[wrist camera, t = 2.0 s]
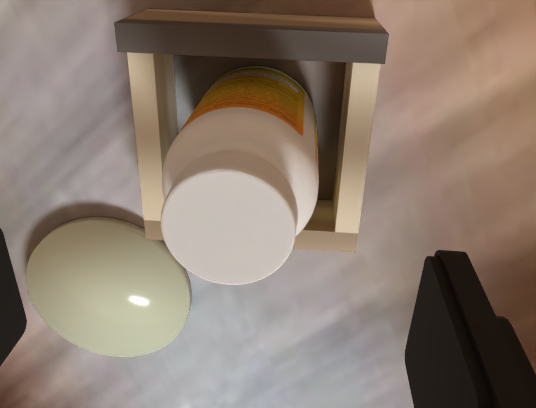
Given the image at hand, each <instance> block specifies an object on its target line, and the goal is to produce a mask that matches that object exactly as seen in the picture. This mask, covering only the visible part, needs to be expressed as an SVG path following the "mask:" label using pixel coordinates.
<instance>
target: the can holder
mask: <svg viewBox="0 0 536 408" xmlns="http://www.w3.org/2000/svg"><path fill="white" fill-rule="evenodd" d="M114 25H115V34H116V43H117V52H127V57H128V67H129V76H130V86H131V96H132V106H133V116H134V126H135V136H136V146H137V156H138V166H139V176H140V186H141V196H142V206H143V216H144V226H145V236H146V239H152V240H164V238H163V235H162V230H161V211H162V207H163V204H164V201H165V199H164V195H163V189H162V172H163V166H164V162H165V158H166V156H167V153H168V151H169V149H170V147H171V145H172V143H173V141H174V139H175V138H176V137H177V135H178V126H177V109H176V92H175V75H174V58H173V55H194V56H217V57H239V58H261V59H283V60H306V61H328V62H346V70H345V80H344V90H343V100H342V110H341V120H340V130H339V140H338V150H337V160H336V170H335V180H334V190H333V200H332V201H331V200H317V202H316V205H315V208H314V211H313V214H312V216H311V218H310V219H309V221H308V223H307V224H306V226H305V227H304V228H303V230H302V231H301V232H300V233H299V234H298V235H297V236H296V237H295V242H294V245H293V248H292V249H306V250H322V251H337V252H353V253H356V246H357V238H358V231H359V223H360V215H361V208H362V200H363V193H364V185H365V177H366V170H367V162H368V155H369V147H370V140H371V132H372V124H373V117H374V109H375V102H376V94H377V86H378V79H379V71H380V64H385V59H386V52H387V45H388V37H389V34H388V33H387V31H386V30H385V29H384V28H383V27H382V25H381V24H380V23H379V22H378V21H377V20H376V18H359V17H335V16H310V15H285V14H260V13H235V12H210V11H186V10H161V9H146V10H144V11H141V12H139V13H136V14H134V15H131V16H129V17H127V18H124V19H122V20H119V21H117V22H115V23H114Z"/></svg>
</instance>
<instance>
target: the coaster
mask: <svg viewBox="0 0 536 408" xmlns="http://www.w3.org/2000/svg"><path fill="white" fill-rule="evenodd" d="M26 285H27V291H28V294H29V297H30V300H31V302H32V304H33V306H34V308H35V309H36V311H37V312H38V314H39V315H40V317H41V318H42V319H43V320H44V322H45V323H46V324H47V325H48V326H49V327H50V328H51V329H52V330H54V331H55V332H56V333H57V334H59V335H60V336H61V337H63V338H64V339H66V340H67V341H69V342H71V343H73V344H74V345H76V346H78V347H81V348H83V349H85V350H88V351H91V352H94V353H97V354H102V355H106V356H114V357H134V356H140V355H145V354H149V353H152V352H155V351H157V350H159V349H161V348H163V347H164V346H166V345H168V344H169V343H170V342H171V341H172V340H174V339H175V338H176V336H177V335H178V334H179V333H180V331H181V330H182V328H183V326H184V324H185V321H186V319H187V316H188V313H189V310H190V305H191V298H192V291H191V284H190V280H189V277H188V274H187V272H186V270H185V268H184V267H183V266H182V265H181V264H180V263H179V262H178V261H177V260H176V259H175V258H174V256H173V255H172V254H171V252H170V251H169V249H168V247H167V246H166V244H165V243H164V242H163V241H162V240H152V239H146V236H145V229H143V228H141V227H139V226H137V225H135V224H132V223H129V222H126V221H123V220H118V219H114V218H106V217H87V218H79V219H76V220H72V221H69V222H66V223H64V224H62V225H60V226H58V227H57V228H55V229H53V230H52V231H51V232H50V233H49V234H47V235H46V237H45V238H44V239H43V240H42V241H41V242H40V243H39V244H38V246H37V247H36V248H35V249H34V251H33V253H32V254H31V256H30V258H29V261H28V264H27V269H26Z"/></svg>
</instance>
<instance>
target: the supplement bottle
mask: <svg viewBox="0 0 536 408" xmlns="http://www.w3.org/2000/svg"><path fill="white" fill-rule="evenodd" d="M318 187H319V172H318V143H317V121H316V115H315V111H314V107H313V105H312V102H311V100H310V98H309V96H308V95H307V93H306V92H305V90H304V89H303V88H302V87H301V86H300V85H299V84H298V83H297V82H296V81H295V80H294V79H292V78H291V77H290V76H288V75H286V74H285V73H283V72H281V71H278V70H276V69H273V68H269V67H263V66H248V67H243V68H239V69H236V70H233V71H231V72H228V73H227V74H225V75H223V76H222V77H220V78H219V79H218V80H217V81H216V82H215V83H214V84H213V85H212V86H211V87H210V88H209V89H208V90H207V92H206V93H205V95H204V96H203V98H202V99H201V101H200V102H199V104H198V105H197V107H196V109H195V110H194V111H193V113H192V114H191V116H190V117H189V119H188V120H187V122H186V123H185V125H184V126H183V128H182V129H181V131H180V132H179V134H178V135H177V137H176V138H175V139H174V141H173V143H172V145H171V147H170V149H169V151H168V153H167V156H166V158H165V162H164V166H163V172H162V189H163V195H164V199H165V201H164V204H163V207H162V211H161V230H162V235H163V238H164V241H165V243H166V246H167V247H168V249H169V251H170V252H171V254H172V255H173V256H174V258H175V259H176V260H177V261H178V262H179V263H180V264H181V265H182V266H183V267H184V268H186V269H187V270H189V271H190V272H191V273H193V274H195V275H196V276H198V277H201V278H203V279H205V280H208V281H211V282H215V283H219V284H228V285H241V284H247V283H252V282H255V281H258V280H261V279H263V278H265V277H267V276H269V275H270V274H272V273H273V272H275V271H276V270H277V269H278V268H280V267H281V265H282V264H283V263H284V262H285V261H286V259H287V258H288V256H289V255H290V253H291V251H292V248H293V245H294V242H295V237H296V236H297V235H298V234H299V233H300V232H301V231H302V230H303V228H304V227H305V226H306V224H307V223H308V221H309V219H310V218H311V216H312V214H313V211H314V208H315V205H316V202H317V196H318Z"/></svg>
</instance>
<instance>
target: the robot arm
mask: <svg viewBox="0 0 536 408" xmlns="http://www.w3.org/2000/svg"><path fill="white" fill-rule="evenodd" d="M26 323H27V320H26V315H25V311H24V307H23V304H22V300H21V297H20V293H19V289H18V286H17V282H16V278H15V275H14V271H13V267H12V264H11V260H10V257H9V253H8V249H7V246H6V242H5V238H4V235H3V232H2V230H1V229H0V366H1V365H2V363H3V362H4V360H5V359H6V358H7V356H8V355H9V353H10V352H11V351H12V349H13V348H14V346H15V345H16V344H17V342H18V341H19V339H20V338H21V337H22V335H23V333H24V331H25V329H26ZM405 364H406V370H407V375H408V380H409V384H410V389H411V394H412V399H413V404H414V408H536V374H535V372H534V370H533V368H532V366H531V364H530V362H529V360H528V358H527V356H526V354H525V352H524V350H523V348H522V346H521V344H520V342H519V340H518V338H517V335H516V333H515V331H514V329H513V327H512V325H511V324H510V322H509V321H508V319H506V318H505V317H498V316H496V315H495V313H494V311H493V309H492V307H491V305H490V302H489V300H488V298H487V296H486V294H485V292H484V289H483V287H482V285H481V283H480V281H479V279H478V276H477V274H476V272H475V270H474V268H473V266H472V264H471V261H470V259H469V257H468V255H467V254H466V253H465V252H459V251H444V250H438V251H436V253H435V255H434V257H433V256H427V257H426V259H425V262H424V267H423V271H422V276H421V281H420V285H419V290H418V294H417V299H416V303H415V308H414V312H413V317H412V321H411V326H410V330H409V335H408V340H407V344H406V349H405Z"/></svg>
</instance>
